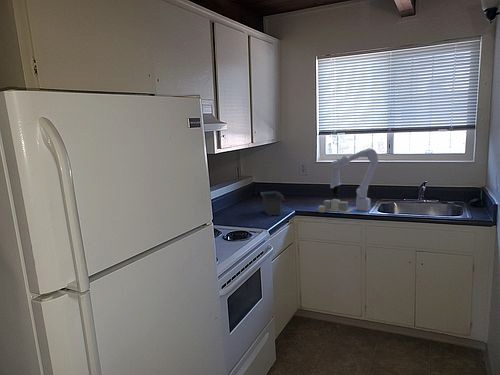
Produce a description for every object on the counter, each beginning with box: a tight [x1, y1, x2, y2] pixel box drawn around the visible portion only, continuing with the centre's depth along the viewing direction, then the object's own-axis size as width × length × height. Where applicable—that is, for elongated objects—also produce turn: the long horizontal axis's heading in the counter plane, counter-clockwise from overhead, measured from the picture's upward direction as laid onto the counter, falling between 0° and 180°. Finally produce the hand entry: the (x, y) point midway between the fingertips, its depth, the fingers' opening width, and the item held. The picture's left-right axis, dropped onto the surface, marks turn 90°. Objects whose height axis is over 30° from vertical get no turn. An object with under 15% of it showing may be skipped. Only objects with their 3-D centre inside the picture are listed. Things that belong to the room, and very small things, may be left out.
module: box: [330, 198, 341, 209], centre depth 272 cm, size 5×4×6 cm
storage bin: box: [260, 190, 285, 217], centre depth 271 cm, size 21×16×14 cm
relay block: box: [317, 205, 326, 213], centre depth 269 cm, size 4×4×4 cm
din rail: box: [322, 199, 354, 213], centre depth 272 cm, size 22×8×6 cm, turn 55°
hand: (335, 196), depth 271 cm, fingers closed
